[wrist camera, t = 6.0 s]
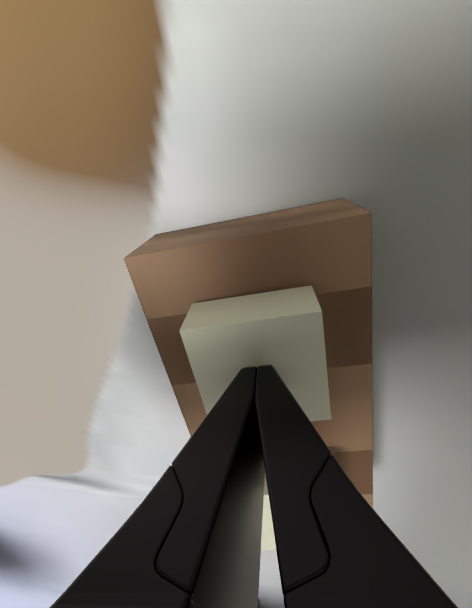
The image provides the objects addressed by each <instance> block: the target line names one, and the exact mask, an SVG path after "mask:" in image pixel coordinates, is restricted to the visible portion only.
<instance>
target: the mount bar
mask: <svg viewBox="0 0 472 608" xmlns="http://www.w3.org/2000/svg"><path fill="white" fill-rule="evenodd" d="M124 260H125V263H126V266H127V268H128V271H129V274H130V276H131V279H132V281H133V284H134V287H135V289H136V292H137V295H138V297H139V300H140V303H141V305H142V308H143V311H144V313H145V316H146V319H147V321H148V324H149V327H150V329H151V332H152V335H153V337H154V340H155V343H156V345H157V348H158V350H159V353H160V356H161V358H162V361H163V364H164V366H165V369H166V372H167V374H168V377H169V380H170V382H171V385H172V388H173V390H174V393H175V396H176V398H177V401H178V404H179V406H180V409H181V412H182V414H183V417H184V419H185V422H186V425H187V427H188V430H189V433H190V435H191V436H192V435H193V434H194V432H195V431H196V430H197V428H198V427H199V426H200V424H201V423H202V421H203V420H204V419H205V417H206V416H207V413H206V410H205V407H204V404H203V401H202V398H201V395H200V392H199V389H198V386H197V383H196V380H195V377H194V374H193V371H192V368H191V365H190V362H189V359H188V356H187V353H186V350H185V347H184V344H183V341H182V338H181V335H180V328H181V326H182V324H183V322H184V320H185V318H186V316H187V313H188V311H189V309H190V307H191V305H192V303H199V302H205V301H212V300H218V299H225V298H231V297H238V296H245V295H251V294H258V293H264V292H271V291H278V290H284V289H291V288H297V287H304V286H310V285H312V287H313V290H314V292H315V295H316V297H317V300H318V302H319V305H320V307H321V310H322V317H323V329H324V340H325V352H326V363H327V375H328V387H329V398H330V410H331V420H320V421H310V422H311V423H312V424H313V426H314V427H315V429H316V430H317V432H318V433H319V435H320V436H321V438H322V439H323V441H324V442H325V444H326V445H327V447H328V448H329V450H330V451H331V453H332V455H333V456H334V457H335V458H336V460H337V461H338V463H339V464H340V466H341V467H342V468H343V470H344V471H345V473H346V474H347V475H348V477H349V478H350V480H351V481H352V482H353V484H354V485H355V486H356V488H357V489H358V491H359V492H360V493H361V495H362V496H363V497H364V498H365V499H366V501H367V502H368V503H369V504H370V506H371V507H372V508H373V451H372V249H371V212H369V211H367V210H365V209H363V208H361V207H359V206H357V205H355V204H353V203H351V202H349V201H347V200H345V199H343V198H342V199H337V200H332V201H327V202H321V203H316V204H311V205H306V206H301V207H296V208H290V209H285V210H280V211H275V212H270V213H265V214H259V215H254V216H249V217H244V218H239V219H234V220H228V221H223V222H218V223H213V224H208V225H203V226H197V227H192V228H187V229H182V230H177V231H172V232H166V233H161V234H156V235H155V236H153V237H152V238H150V239H149V240H148V241H146V242H145V243H144V244H142V245H141V246H140V247H139V248H137V249H136V250H134V251H133V252H132V253H130V254H129V255H128V256H126V257H125V258H124Z"/></svg>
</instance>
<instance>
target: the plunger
mask: <svg viewBox="0 0 472 608" xmlns="http://www.w3.org/2000/svg"><path fill="white" fill-rule="evenodd" d="M180 335H181V338H182V341H183V344H184V347H185V350H186V353H187V356H188V359H189V362H190V365H191V368H192V371H193V374H194V377H195V380H196V383H197V386H198V389H199V392H200V395H201V398H202V401H203V404H204V407H205V410H206V413H207V415H208V413H209V412H210V411H211V409H212V408H213V406H214V405H215V404H216V402H217V401H218V400H219V398H220V397H221V396H222V394H223V393H224V391H225V390H226V389H227V387H228V386H229V385H230V383H231V382H232V381H233V379H234V378H235V376H236V375H237V374H238V372H239V371H240V370H241V369H242V368H244V367H253V366H255V367H256V368H257V367H258V366H262V365H272V366H273V367H274V368H275V370H276V371H277V373H278V374H279V376H280V377H281V379H282V380H283V382H284V383H285V385H286V386H287V388H288V389H289V390H290V392H291V393H292V395H293V396H294V398H295V399H296V401H297V402H298V404H299V405H300V407H301V408H302V410H303V411H304V413H305V414H306V416H307V417H308V419H309V420H310V421H320V420H331V410H330V398H329V387H328V375H327V363H326V352H325V340H324V329H323V317H322V310H321V307H320V305H319V302H318V300H317V297H316V295H315V292H314V290H313V287H312V285H310V286H304V287H297V288H291V289H284V290H278V291H271V292H264V293H258V294H251V295H245V296H238V297H231V298H225V299H218V300H212V301H205V302H199V303H192V305H191V307H190V309H189V311H188V313H187V316H186V318H185V320H184V322H183V324H182V326H181V328H180Z"/></svg>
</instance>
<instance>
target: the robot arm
mask: <svg viewBox="0 0 472 608" xmlns="http://www.w3.org/2000/svg"><path fill="white" fill-rule="evenodd" d="M265 474H266V481H267V488H268V495H269V502H270V509H271V516H272V523H273V529H274V536H275V543H276V550H277V557H278V564H279V571H280V578H281V585H282V591H283V595H284V605H285V608H458V607H457V606H456V605H455V604H454V603H453V601H452V600H451V599H450V598H449V597H448V596H447V595H446V594H445V592H444V591H443V590H442V589H441V588H440V587H439V585H438V584H437V583H436V582H435V581H434V580H433V578H432V577H431V576H430V575H429V574H428V573H427V571H426V570H425V569H424V568H423V567H422V566H421V564H420V563H419V562H418V561H417V560H416V559H415V558H414V556H413V555H412V554H411V553H410V552H409V551H408V549H407V548H406V547H405V546H404V545H403V544H402V542H401V541H400V540H399V539H398V538H397V537H396V535H395V534H394V533H393V532H392V531H391V530H390V528H389V527H388V526H387V525H386V524H385V523H384V521H383V520H382V519H381V518H380V517H379V515H378V514H377V513H376V512H375V511H374V509H373V508H372V507H371V506H370V504H369V503H368V502H367V501H366V499H365V498H364V497H363V496H362V495H361V493H360V492H359V491H358V489H357V488H356V486H355V485H354V484H353V482H352V481H351V480H350V478H349V477H348V475H347V474H346V473H345V471H344V470H343V468H342V467H341V466H340V464H339V463H338V461H337V460H336V458H335V457H334V456H333V455H332V453H331V451H330V450H329V448H328V447H327V445H326V444H325V442H324V441H323V439H322V438H321V436H320V435H319V433H318V432H317V430H316V429H315V427H314V426H313V424H312V423H311V422H310V420H309V419H308V417H307V416H306V414H305V413H304V411H303V410H302V408H301V407H300V405H299V404H298V402H297V401H296V399H295V398H294V396H293V395H292V393H291V392H290V390H289V389H288V388H287V386H286V385H285V383H284V382H283V380H282V379H281V377H280V376H279V374H278V373H277V371H276V370H275V368H274V367H273V366H272V365H262V366H258V367H257V368H256V367H255V366H253V367H244V368H242V369H241V370H240V371H239V372H238V374H237V375H236V376H235V378H234V379H233V381H232V382H231V383H230V385H229V386H228V387H227V389H226V390H225V391H224V393H223V394H222V396H221V397H220V398H219V400H218V401H217V402H216V404H215V405H214V406H213V408H212V409H211V411H210V412H209V413H208V415H207V416H206V417H205V419H204V420H203V421H202V423H201V424H200V426H199V427H198V428H197V430H196V431H195V432H194V434H193V435H192V436H191V438H190V439H189V441H188V442H187V443H186V445H185V446H184V447H183V449H182V450H181V451H180V453H179V454H178V455H177V457H176V458H175V460H174V461H173V462H172V466H169V468H168V469H167V470H166V472H165V473H164V474H163V476H162V477H161V478H160V480H159V481H158V482H157V484H156V485H155V486H154V488H153V489H152V490H151V491H150V493H149V494H148V495H147V497H146V498H145V499H144V501H143V502H142V503H141V504H140V505H139V507H138V508H137V509H136V510H135V511H134V513H133V514H132V515H131V516H130V517H129V518H128V520H127V521H126V522H125V523H124V524H123V526H122V527H121V528H120V529H119V530H118V531H117V532H116V534H115V535H114V536H113V537H112V538H111V539H110V540H109V542H108V543H107V544H106V545H105V546H104V547H103V548H102V550H101V551H100V552H99V553H98V554H97V555H96V556H95V558H94V559H93V560H92V561H91V562H90V563H89V564H88V566H87V567H86V568H85V569H84V570H83V571H82V572H81V574H80V575H79V576H78V577H77V578H76V579H75V580H74V582H73V583H72V584H71V585H70V586H69V587H68V588H67V590H66V591H65V592H64V593H63V594H62V595H61V596H60V597H59V598H58V599H57V600H56V602H55V603H54V604H53V605H52V606H51V607H50V608H258V589H259V571H260V553H261V535H262V517H263V499H264V481H265Z"/></svg>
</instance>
